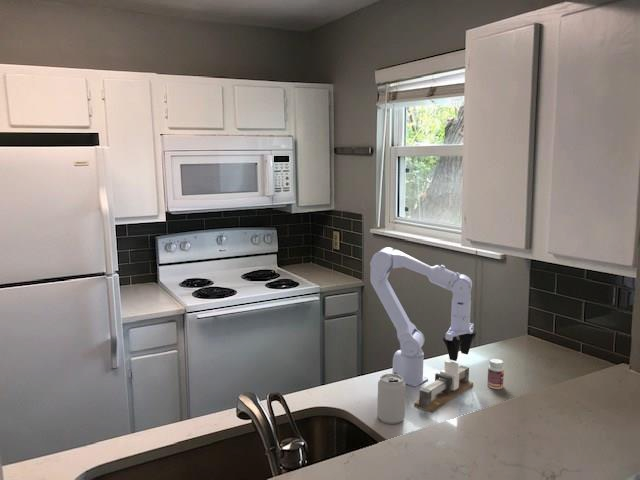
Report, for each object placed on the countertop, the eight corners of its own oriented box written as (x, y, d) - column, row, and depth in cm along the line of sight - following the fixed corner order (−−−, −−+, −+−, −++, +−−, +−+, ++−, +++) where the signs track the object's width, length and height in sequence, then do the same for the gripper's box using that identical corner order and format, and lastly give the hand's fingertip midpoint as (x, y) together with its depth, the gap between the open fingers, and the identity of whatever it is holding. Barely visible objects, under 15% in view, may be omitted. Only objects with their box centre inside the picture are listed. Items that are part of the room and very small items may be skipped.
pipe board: (414, 405, 154) (414, 388, 153) (455, 379, 172) (456, 364, 171) (432, 412, 150) (432, 394, 149) (473, 385, 168) (473, 368, 167)
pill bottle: (504, 390, 165) (505, 364, 163) (488, 388, 166) (489, 363, 164) (502, 383, 169) (503, 358, 168) (486, 382, 170) (487, 357, 169)
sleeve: (439, 386, 163) (440, 362, 162) (444, 383, 165) (445, 359, 164) (453, 390, 160) (454, 366, 159) (458, 387, 162) (459, 363, 161)
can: (386, 427, 141) (386, 385, 139) (372, 415, 148) (373, 374, 146) (409, 422, 144) (411, 380, 142) (395, 410, 151) (396, 370, 149)
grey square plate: (434, 389, 161) (435, 374, 160) (436, 388, 162) (436, 373, 161) (448, 393, 158) (449, 378, 157) (450, 392, 158) (451, 377, 158)
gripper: (461, 322, 155) (459, 366, 157) (483, 312, 166) (481, 353, 168) (440, 317, 160) (438, 360, 162) (462, 308, 171) (461, 348, 173)
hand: (458, 356), depth 165 cm, fingers open, 7 cm apart
